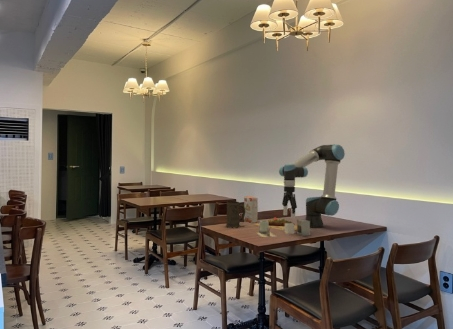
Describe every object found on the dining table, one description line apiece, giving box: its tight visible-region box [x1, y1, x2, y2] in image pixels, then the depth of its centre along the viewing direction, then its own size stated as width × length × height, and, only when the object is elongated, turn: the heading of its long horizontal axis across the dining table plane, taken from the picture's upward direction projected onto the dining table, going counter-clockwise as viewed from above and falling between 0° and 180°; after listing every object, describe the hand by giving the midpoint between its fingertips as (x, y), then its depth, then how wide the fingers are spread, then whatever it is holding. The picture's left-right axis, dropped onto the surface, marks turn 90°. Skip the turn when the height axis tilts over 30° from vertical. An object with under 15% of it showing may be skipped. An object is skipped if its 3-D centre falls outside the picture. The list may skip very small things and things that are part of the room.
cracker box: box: [243, 195, 259, 224], centre depth 307 cm, size 14×6×21 cm, turn 24°
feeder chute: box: [296, 218, 311, 237], centre depth 254 cm, size 6×8×10 cm
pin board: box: [254, 227, 278, 238], centre depth 248 cm, size 11×16×6 cm
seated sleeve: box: [258, 220, 270, 234], centre depth 253 cm, size 6×6×8 cm
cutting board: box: [254, 216, 297, 232], centre depth 282 cm, size 35×23×8 cm
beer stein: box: [225, 200, 245, 228], centre depth 285 cm, size 15×11×20 cm
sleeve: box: [284, 222, 295, 235], centre depth 252 cm, size 6×6×8 cm
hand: (289, 216), depth 252 cm, fingers open, 13 cm apart
